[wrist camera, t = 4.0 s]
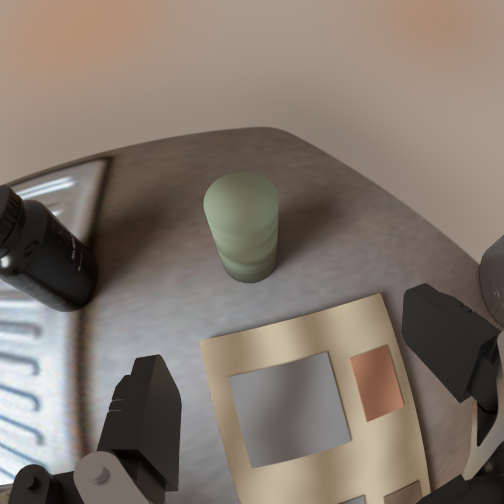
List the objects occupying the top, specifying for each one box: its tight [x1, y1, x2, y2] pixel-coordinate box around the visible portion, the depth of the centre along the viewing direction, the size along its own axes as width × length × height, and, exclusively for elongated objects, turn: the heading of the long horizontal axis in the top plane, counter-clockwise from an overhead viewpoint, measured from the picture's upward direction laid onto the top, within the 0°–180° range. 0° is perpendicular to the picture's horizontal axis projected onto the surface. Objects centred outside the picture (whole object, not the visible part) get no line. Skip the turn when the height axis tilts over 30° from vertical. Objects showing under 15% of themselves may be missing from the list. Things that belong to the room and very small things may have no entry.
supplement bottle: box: [0, 185, 97, 312], centre depth 19 cm, size 7×7×12 cm
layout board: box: [199, 293, 430, 504], centre depth 16 cm, size 14×24×1 cm, turn 13°
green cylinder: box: [204, 171, 279, 283], centre depth 21 cm, size 4×4×8 cm
